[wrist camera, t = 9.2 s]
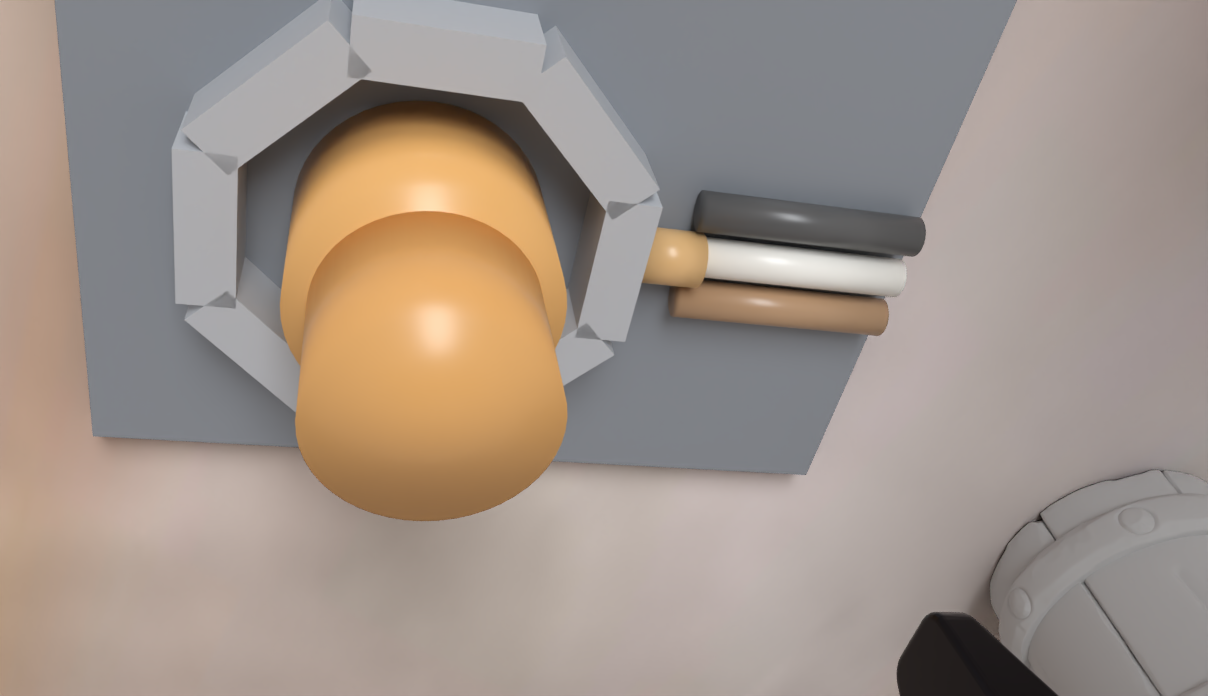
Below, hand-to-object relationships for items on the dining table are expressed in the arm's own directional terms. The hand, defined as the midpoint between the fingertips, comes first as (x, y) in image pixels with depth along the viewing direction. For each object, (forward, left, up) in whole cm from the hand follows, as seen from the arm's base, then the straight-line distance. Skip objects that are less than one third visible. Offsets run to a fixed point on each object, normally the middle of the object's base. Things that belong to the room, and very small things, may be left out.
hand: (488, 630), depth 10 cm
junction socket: (-2, +2, -12) cm, 12 cm away
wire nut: (0, +2, -11) cm, 11 cm away
